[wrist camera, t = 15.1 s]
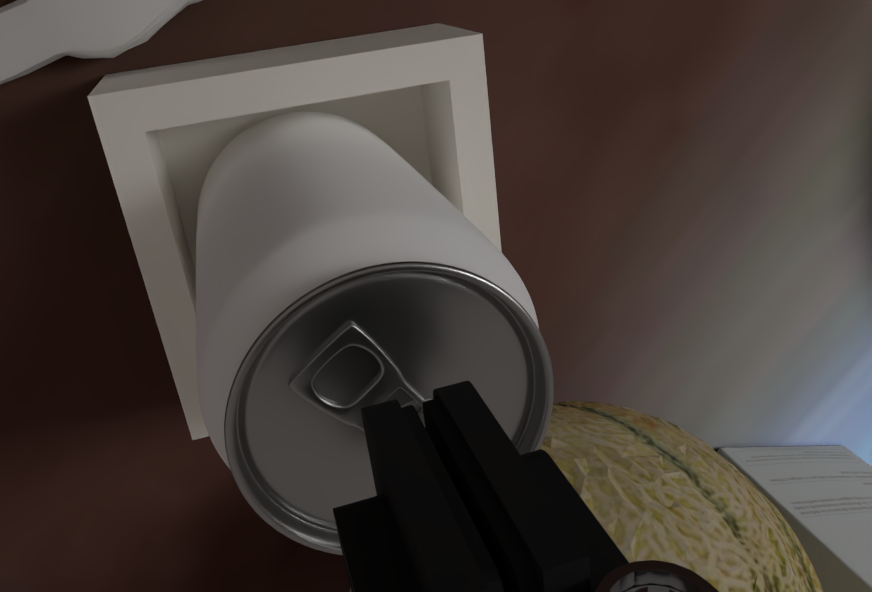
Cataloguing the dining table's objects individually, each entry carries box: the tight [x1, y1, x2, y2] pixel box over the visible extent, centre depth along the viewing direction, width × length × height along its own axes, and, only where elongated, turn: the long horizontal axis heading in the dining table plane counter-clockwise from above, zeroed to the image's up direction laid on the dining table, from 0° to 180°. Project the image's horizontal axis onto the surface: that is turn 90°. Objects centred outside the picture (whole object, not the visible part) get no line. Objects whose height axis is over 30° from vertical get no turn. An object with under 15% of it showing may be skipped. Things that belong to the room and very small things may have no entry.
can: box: [196, 111, 554, 555], centre depth 18 cm, size 6×6×12 cm
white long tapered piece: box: [0, 0, 202, 85], centre depth 20 cm, size 15×3×2 cm, turn 113°
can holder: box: [87, 23, 501, 440], centre depth 22 cm, size 10×10×4 cm
